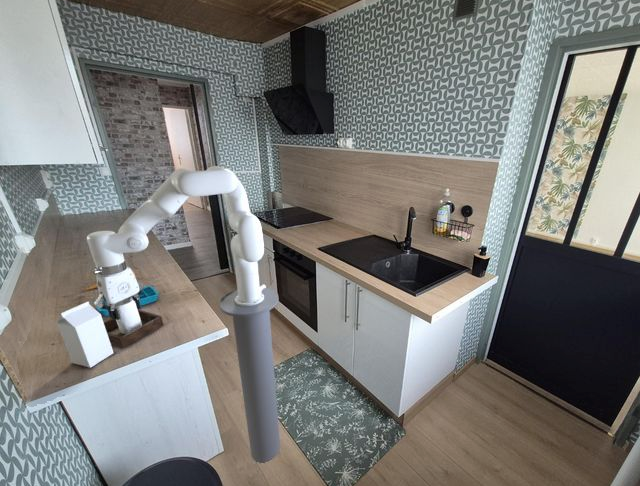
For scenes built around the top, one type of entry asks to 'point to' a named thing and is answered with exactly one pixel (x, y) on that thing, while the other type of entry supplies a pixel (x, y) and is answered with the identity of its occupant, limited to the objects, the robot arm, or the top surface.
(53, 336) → the top surface
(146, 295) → the ice cube tray
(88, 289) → the carrot
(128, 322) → the can
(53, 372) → the top surface
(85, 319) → the milk carton
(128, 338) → the crate
